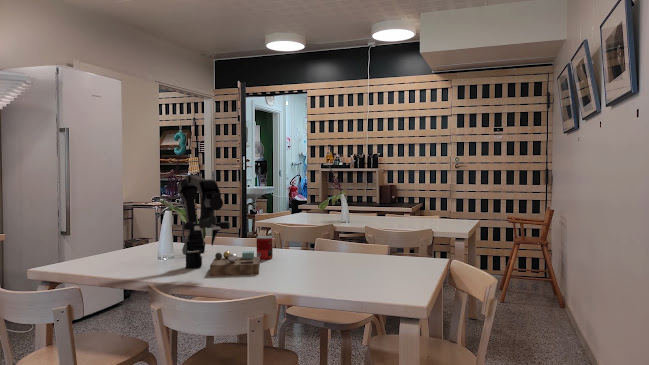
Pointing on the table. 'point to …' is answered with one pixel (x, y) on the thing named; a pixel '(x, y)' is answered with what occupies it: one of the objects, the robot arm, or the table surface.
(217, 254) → the black rubber ball
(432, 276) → the table surface
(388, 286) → the table surface
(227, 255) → the brass ball
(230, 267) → the board
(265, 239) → the canned food
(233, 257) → the steel ball
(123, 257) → the table surface
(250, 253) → the teal block
